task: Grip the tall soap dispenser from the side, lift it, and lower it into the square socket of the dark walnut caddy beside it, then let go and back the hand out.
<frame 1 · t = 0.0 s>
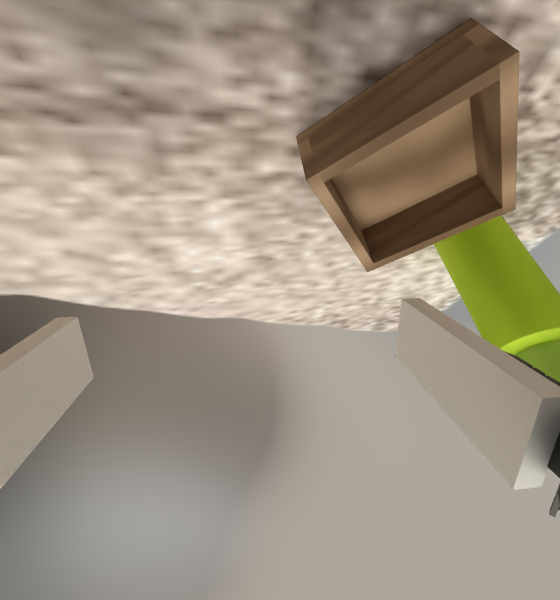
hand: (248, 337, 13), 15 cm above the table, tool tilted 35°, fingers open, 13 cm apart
walnut caddy: (396, 154, 23), on the table
soap dispenser: (466, 220, 30), on the table
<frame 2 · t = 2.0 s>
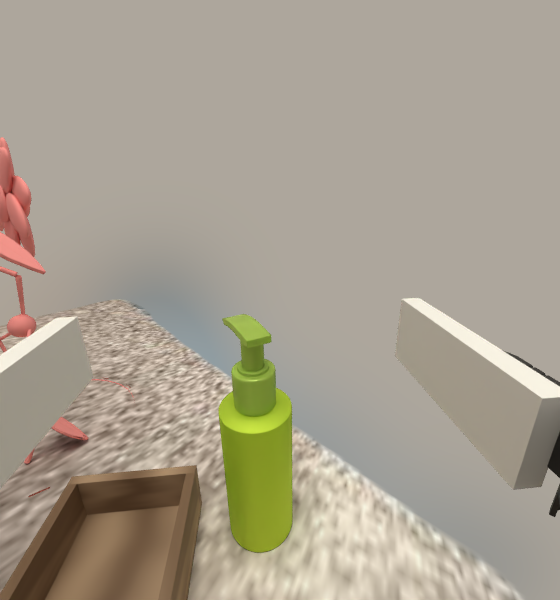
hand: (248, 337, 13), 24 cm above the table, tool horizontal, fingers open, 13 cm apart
walnut caddy: (122, 575, 25), on the table
figurine: (78, 416, 43), on the table
soap dispenser: (259, 515, 30), on the table
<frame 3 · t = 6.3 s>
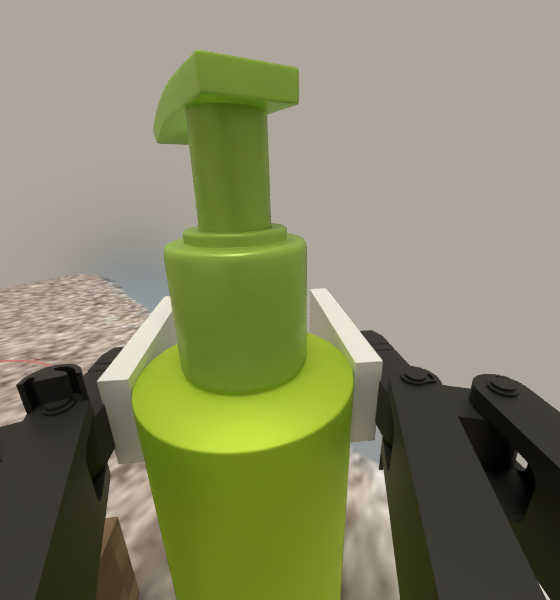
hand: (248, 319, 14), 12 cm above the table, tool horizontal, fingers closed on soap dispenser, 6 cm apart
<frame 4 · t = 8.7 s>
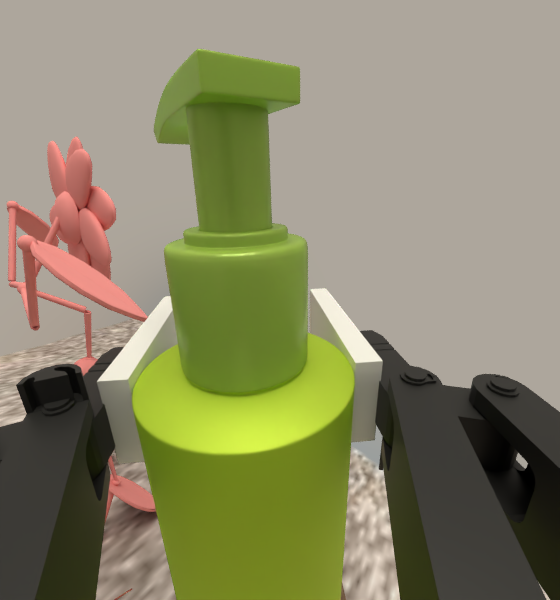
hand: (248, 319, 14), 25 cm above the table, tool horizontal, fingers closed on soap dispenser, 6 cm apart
figurine: (143, 472, 36), on the table
when the fingers open (14 cm above the table, at t = 11.1 s): soap dispenser drops 1 cm, resting on walnut caddy.
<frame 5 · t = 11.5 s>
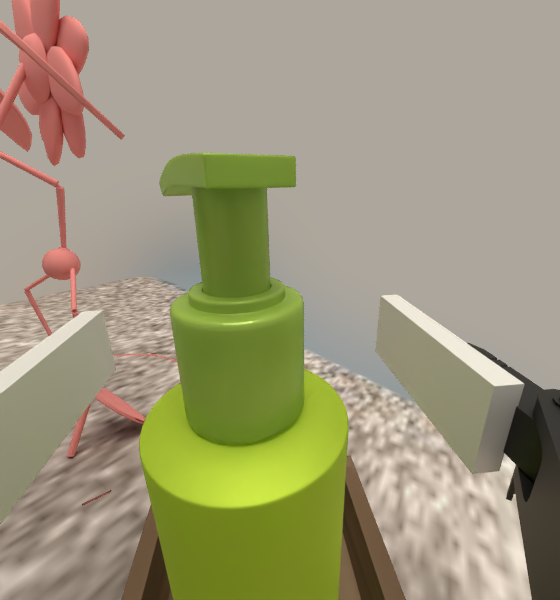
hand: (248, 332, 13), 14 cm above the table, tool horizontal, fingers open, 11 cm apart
figurine: (128, 396, 33), on the table
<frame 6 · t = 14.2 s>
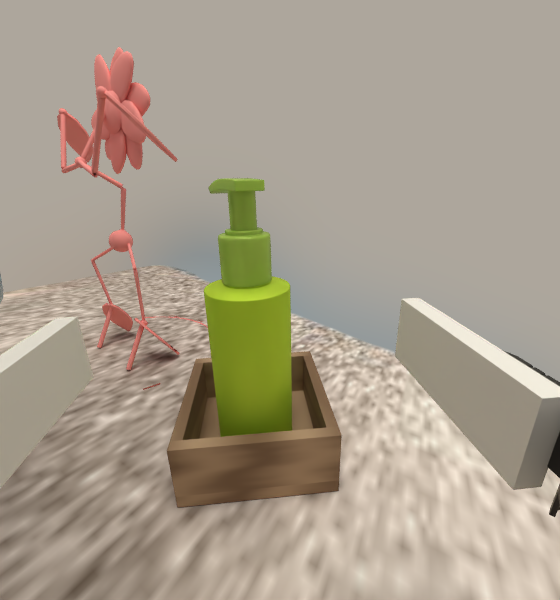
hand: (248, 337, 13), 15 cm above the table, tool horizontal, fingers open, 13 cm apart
walnut caddy: (257, 438, 27), on the table
figurine: (160, 341, 45), on the table
soap dispenser: (254, 434, 26), point 1 cm above the table, touching walnut caddy
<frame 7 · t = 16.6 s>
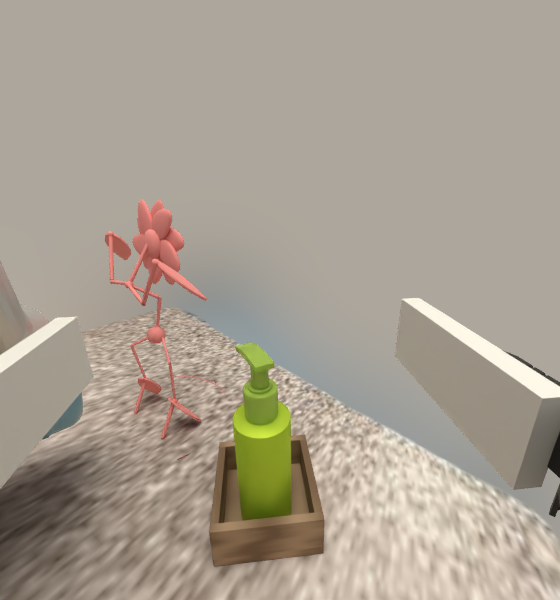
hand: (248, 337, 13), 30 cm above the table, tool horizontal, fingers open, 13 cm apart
walnut caddy: (266, 506, 37), on the table
figurine: (184, 405, 55), on the table
soap dispenser: (264, 505, 36), point 1 cm above the table, touching walnut caddy
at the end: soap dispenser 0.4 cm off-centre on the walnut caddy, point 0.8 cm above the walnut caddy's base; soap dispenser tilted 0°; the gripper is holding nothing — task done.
